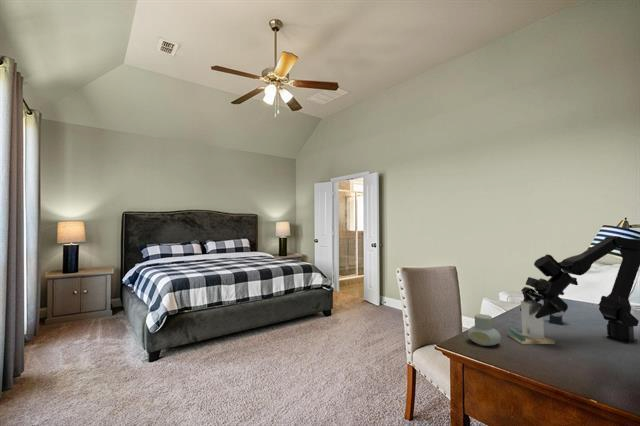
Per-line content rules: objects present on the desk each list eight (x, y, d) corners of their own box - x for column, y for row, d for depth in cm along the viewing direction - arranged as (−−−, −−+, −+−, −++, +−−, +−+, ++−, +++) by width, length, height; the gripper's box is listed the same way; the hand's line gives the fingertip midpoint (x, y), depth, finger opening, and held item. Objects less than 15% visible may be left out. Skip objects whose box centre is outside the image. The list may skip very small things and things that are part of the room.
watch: (567, 325, 133) (566, 300, 134) (544, 322, 138) (543, 297, 139) (568, 322, 137) (566, 297, 138) (546, 319, 143) (544, 295, 143)
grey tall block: (535, 334, 120) (533, 299, 121) (544, 339, 115) (542, 302, 116) (522, 334, 120) (520, 299, 121) (530, 339, 115) (528, 302, 116)
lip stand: (538, 335, 122) (538, 327, 122) (555, 344, 113) (554, 335, 113) (507, 335, 122) (507, 327, 123) (521, 343, 113) (521, 335, 114)
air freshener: (504, 344, 114) (502, 316, 114) (497, 350, 108) (495, 321, 108) (473, 337, 122) (471, 311, 122) (465, 342, 116) (463, 315, 116)
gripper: (524, 267, 128) (499, 294, 128) (557, 273, 109) (527, 305, 109) (545, 286, 127) (519, 313, 127) (581, 295, 109) (551, 327, 109)
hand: (528, 314), depth 118 cm, fingers open, 9 cm apart
